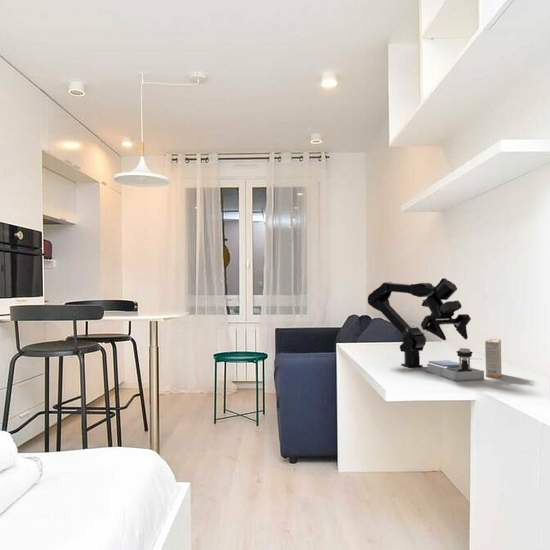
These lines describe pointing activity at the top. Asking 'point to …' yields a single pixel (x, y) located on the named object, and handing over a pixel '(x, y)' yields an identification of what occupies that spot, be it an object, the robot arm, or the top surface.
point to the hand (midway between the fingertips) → (456, 339)
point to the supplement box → (493, 358)
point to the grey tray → (456, 373)
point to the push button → (464, 359)
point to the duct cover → (445, 363)
